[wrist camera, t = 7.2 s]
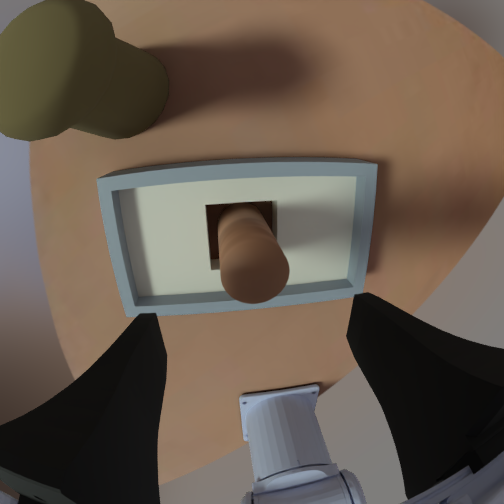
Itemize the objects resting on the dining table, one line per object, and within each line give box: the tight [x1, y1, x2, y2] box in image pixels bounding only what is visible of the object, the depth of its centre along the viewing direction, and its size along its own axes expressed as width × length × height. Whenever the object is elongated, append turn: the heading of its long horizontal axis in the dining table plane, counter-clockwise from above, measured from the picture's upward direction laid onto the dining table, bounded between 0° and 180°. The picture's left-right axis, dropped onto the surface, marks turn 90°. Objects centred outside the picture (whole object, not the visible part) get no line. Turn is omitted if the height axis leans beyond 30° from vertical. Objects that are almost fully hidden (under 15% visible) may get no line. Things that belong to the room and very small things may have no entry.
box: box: [97, 157, 378, 317], centre depth 18 cm, size 9×16×3 cm, turn 92°
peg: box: [218, 202, 290, 304], centre depth 16 cm, size 3×3×7 cm
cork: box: [0, 0, 169, 141], centre depth 9 cm, size 6×6×11 cm
